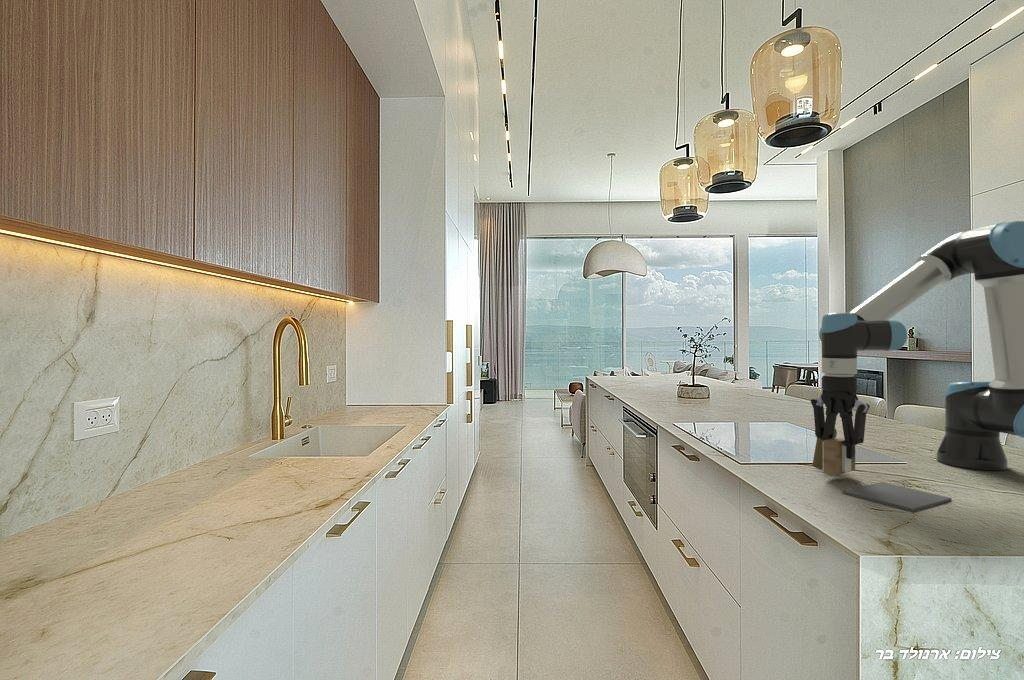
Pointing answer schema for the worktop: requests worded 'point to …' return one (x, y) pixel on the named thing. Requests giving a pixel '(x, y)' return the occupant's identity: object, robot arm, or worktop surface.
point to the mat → (897, 496)
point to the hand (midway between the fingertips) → (838, 469)
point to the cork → (820, 452)
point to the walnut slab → (834, 456)
